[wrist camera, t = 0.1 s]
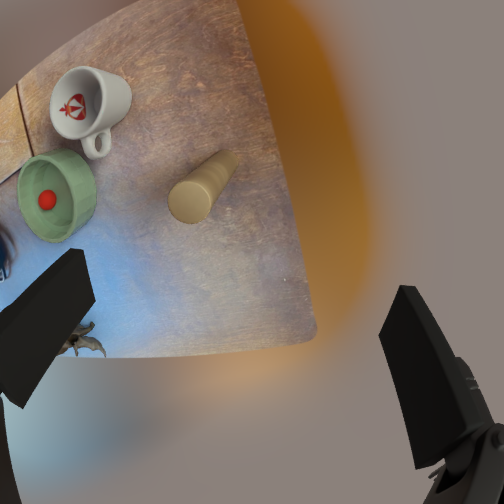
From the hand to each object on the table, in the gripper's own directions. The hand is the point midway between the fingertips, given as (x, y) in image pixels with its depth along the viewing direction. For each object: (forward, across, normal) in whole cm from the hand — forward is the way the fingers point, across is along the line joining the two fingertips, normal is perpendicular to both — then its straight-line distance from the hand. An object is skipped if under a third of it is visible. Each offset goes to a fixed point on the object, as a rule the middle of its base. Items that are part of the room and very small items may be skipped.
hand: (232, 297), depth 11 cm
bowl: (+24, -28, -4) cm, 36 cm away
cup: (+24, -19, +7) cm, 31 cm away
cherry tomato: (+21, -30, -4) cm, 37 cm away
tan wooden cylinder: (+24, -4, 0) cm, 24 cm away
